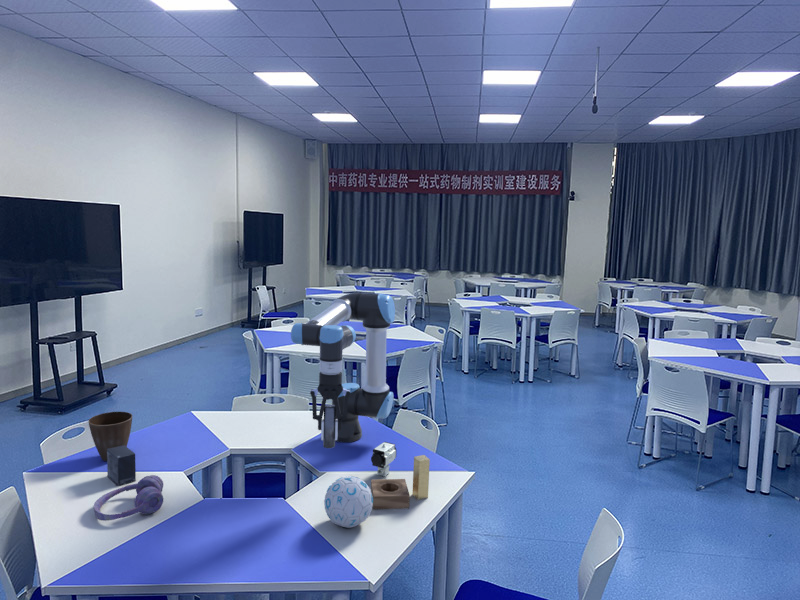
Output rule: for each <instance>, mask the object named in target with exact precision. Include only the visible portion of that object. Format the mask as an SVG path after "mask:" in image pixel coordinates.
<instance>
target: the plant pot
mask: <svg viewBox="0 0 800 600" xmlns="http://www.w3.org/2000/svg"><path fill="white" fill-rule="evenodd" d="M132 425H133V414H132V413H131V412H128V411H110V412H109V411H108V412H104V413H100V414H96V415H93V416H91V417H90V418H89V419H88V427H89V430H90V434H91V437H92V440H93V444H94V446H95V448H96V451H97V453H98V455H99V456H100V458H101V460H102V461H103V462H107V449H109V448H114V447H118V446H122V445H125V446H126V447H127V448H128V444H129V440H130V436H131V432H132V431H131V430H132Z"/></svg>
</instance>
